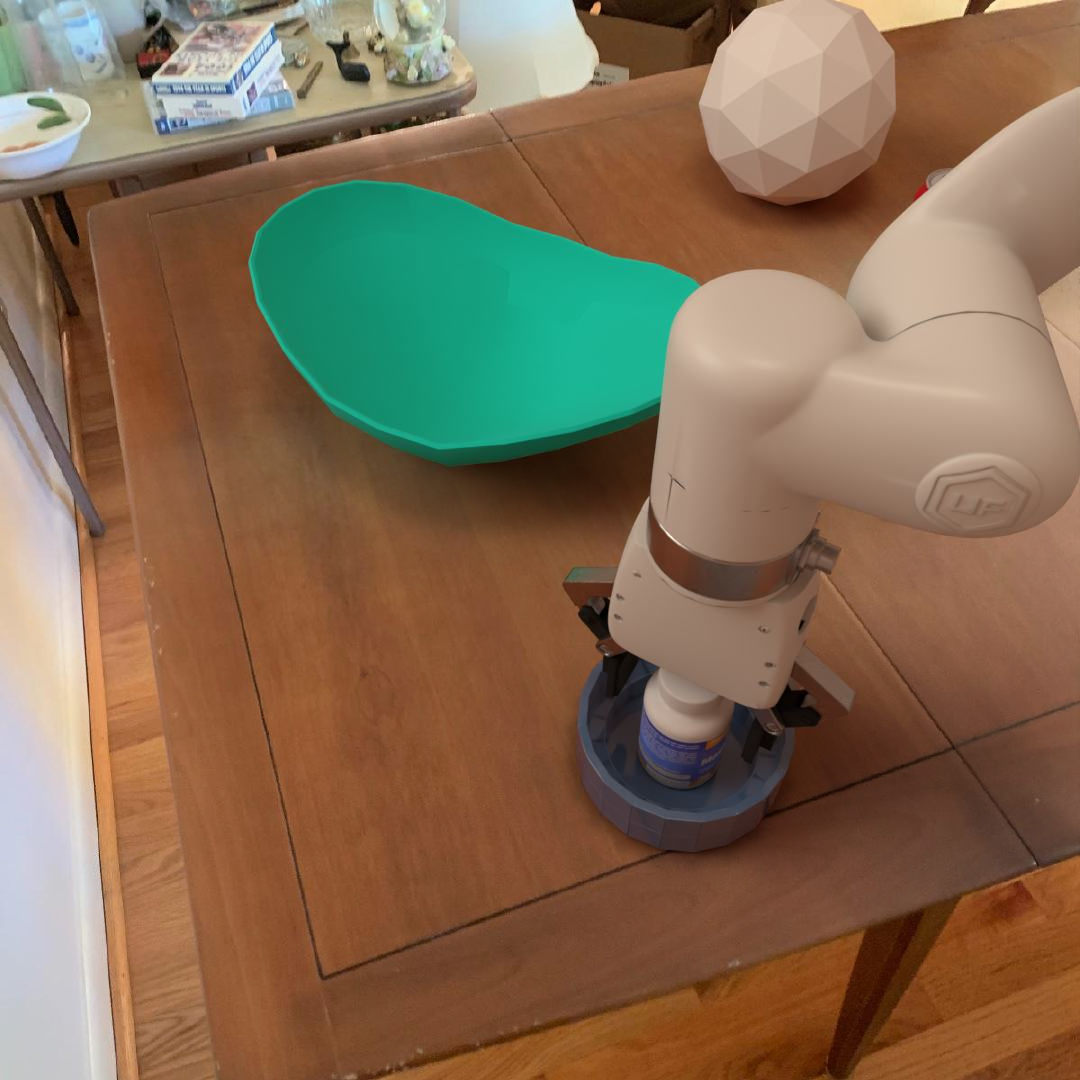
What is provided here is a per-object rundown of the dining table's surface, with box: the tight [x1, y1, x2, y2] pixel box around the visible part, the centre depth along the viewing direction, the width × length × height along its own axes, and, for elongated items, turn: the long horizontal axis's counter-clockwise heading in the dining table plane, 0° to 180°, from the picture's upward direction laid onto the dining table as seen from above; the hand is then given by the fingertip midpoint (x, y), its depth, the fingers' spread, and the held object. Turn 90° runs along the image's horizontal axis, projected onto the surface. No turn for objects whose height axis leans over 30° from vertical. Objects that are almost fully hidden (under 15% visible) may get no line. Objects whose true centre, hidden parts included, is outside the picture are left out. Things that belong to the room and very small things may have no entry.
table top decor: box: [247, 179, 702, 467], centre depth 80 cm, size 40×28×13 cm
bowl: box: [575, 657, 796, 853], centre depth 62 cm, size 13×13×5 cm
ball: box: [698, 0, 897, 207], centre depth 99 cm, size 19×20×20 cm
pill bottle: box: [638, 667, 734, 789], centre depth 60 cm, size 5×5×10 cm
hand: (687, 709), depth 59 cm, fingers open, 8 cm apart
